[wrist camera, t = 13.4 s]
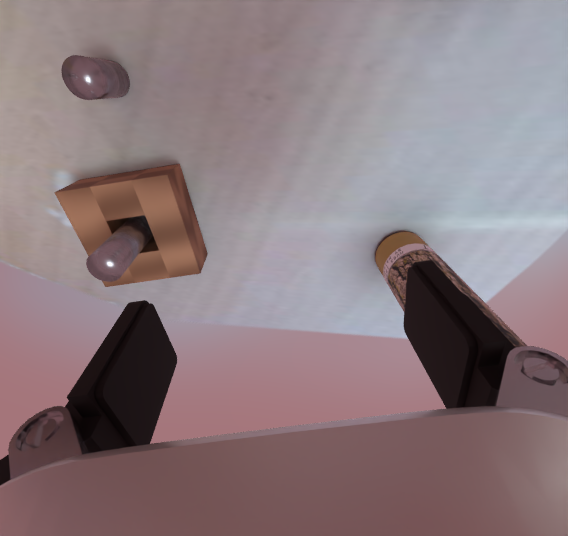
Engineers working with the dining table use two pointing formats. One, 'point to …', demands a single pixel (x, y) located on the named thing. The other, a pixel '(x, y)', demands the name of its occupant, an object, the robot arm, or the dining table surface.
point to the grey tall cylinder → (119, 249)
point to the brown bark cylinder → (411, 248)
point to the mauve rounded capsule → (95, 78)
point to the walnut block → (136, 202)
